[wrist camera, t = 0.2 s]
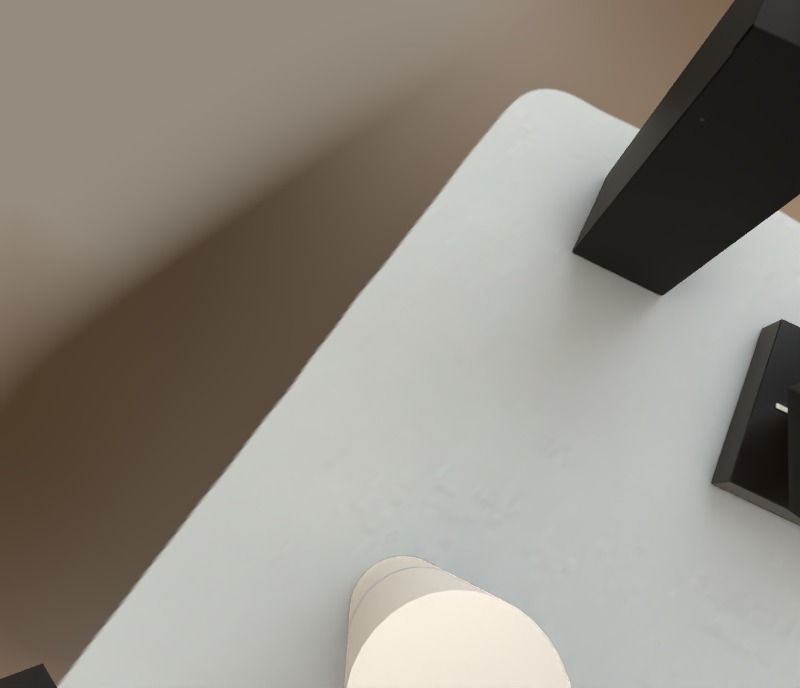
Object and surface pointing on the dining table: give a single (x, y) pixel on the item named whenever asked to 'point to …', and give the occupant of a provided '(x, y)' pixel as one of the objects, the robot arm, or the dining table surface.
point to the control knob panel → (763, 424)
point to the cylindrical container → (441, 634)
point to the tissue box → (706, 153)
